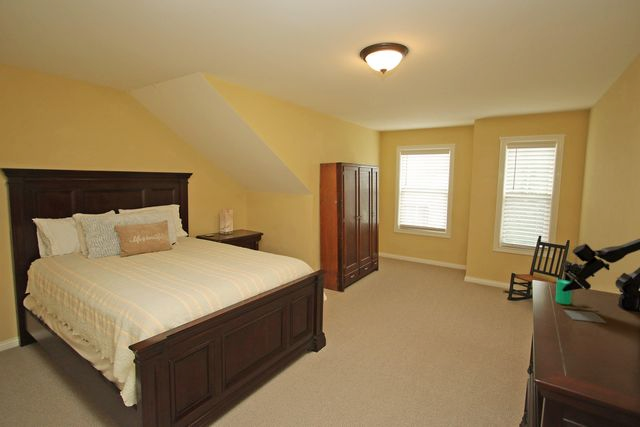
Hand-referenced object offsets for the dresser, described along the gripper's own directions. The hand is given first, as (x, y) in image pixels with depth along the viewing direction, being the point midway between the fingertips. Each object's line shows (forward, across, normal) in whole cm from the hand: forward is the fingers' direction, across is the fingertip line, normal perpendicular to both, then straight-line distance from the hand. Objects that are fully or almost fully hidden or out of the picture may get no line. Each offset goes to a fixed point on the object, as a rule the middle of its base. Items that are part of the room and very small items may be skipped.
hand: (560, 288), depth 162 cm
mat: (+2, +17, +8) cm, 18 cm away
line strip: (+1, +7, +9) cm, 11 cm away
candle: (+4, 0, +6) cm, 7 cm away
